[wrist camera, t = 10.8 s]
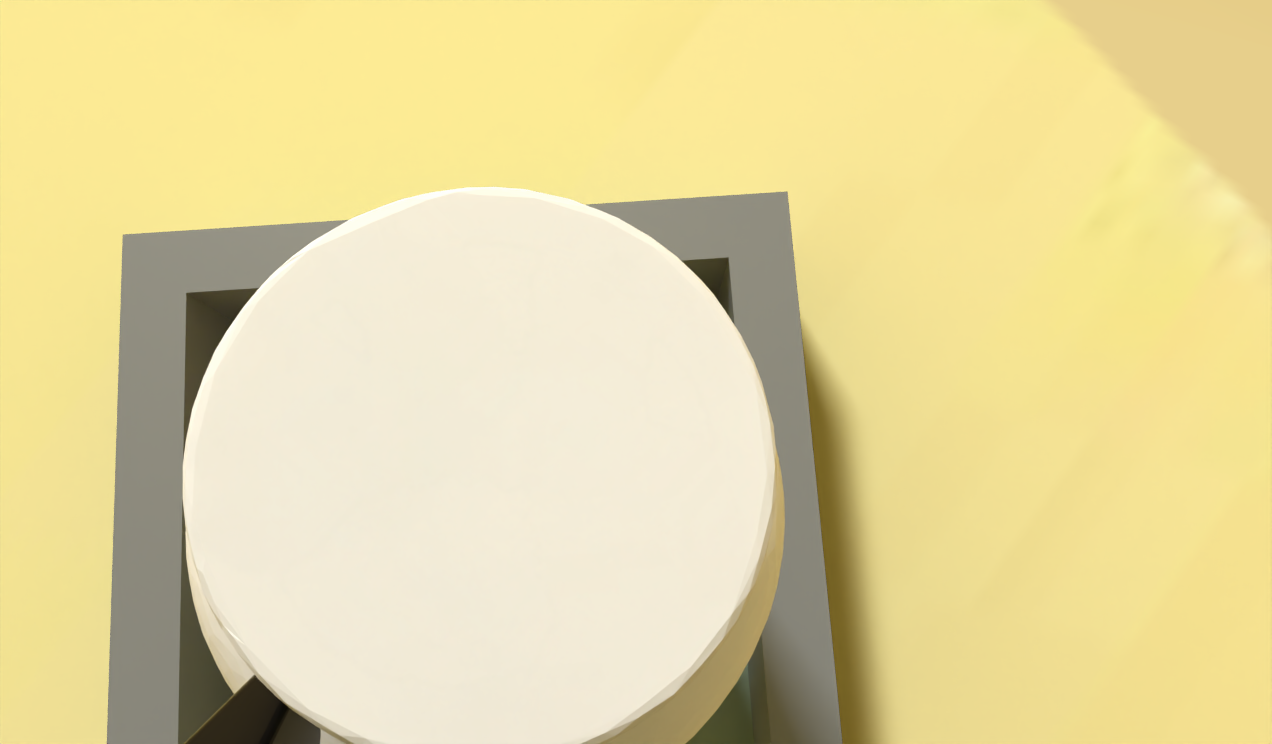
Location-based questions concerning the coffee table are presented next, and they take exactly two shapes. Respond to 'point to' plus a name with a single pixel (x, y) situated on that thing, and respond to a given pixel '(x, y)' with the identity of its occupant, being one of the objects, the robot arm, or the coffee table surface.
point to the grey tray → (214, 296)
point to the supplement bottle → (484, 481)
